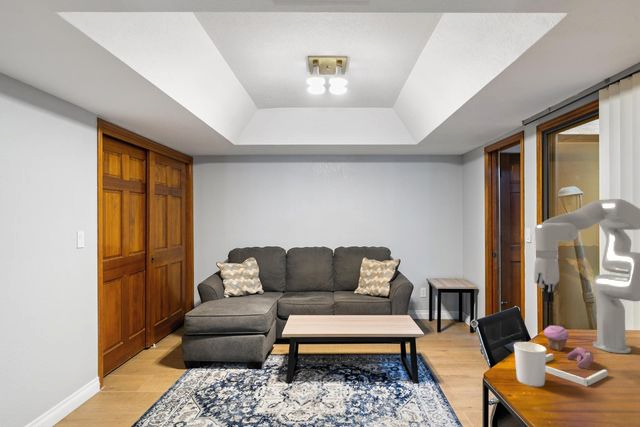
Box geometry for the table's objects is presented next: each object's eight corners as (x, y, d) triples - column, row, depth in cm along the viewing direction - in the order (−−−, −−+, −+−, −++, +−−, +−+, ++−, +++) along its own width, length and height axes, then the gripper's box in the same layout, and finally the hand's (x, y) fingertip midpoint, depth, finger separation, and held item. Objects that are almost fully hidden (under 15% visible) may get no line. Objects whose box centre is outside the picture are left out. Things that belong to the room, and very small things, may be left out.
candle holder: (509, 375, 129) (508, 341, 129) (536, 375, 128) (535, 341, 128) (523, 388, 119) (523, 351, 119) (553, 388, 118) (552, 351, 119)
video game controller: (589, 373, 133) (598, 357, 132) (577, 367, 133) (586, 350, 133) (576, 362, 142) (584, 347, 142) (564, 357, 143) (572, 342, 143)
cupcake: (540, 347, 155) (540, 324, 155) (551, 344, 159) (550, 321, 159) (562, 354, 147) (562, 330, 147) (573, 350, 151) (573, 326, 152)
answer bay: (550, 358, 143) (550, 353, 143) (607, 375, 127) (607, 370, 127) (529, 366, 136) (529, 361, 136) (587, 386, 119) (586, 380, 119)
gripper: (547, 253, 148) (548, 297, 147) (526, 255, 140) (527, 302, 140) (567, 254, 141) (568, 300, 141) (546, 257, 134) (547, 306, 133)
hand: (548, 301), depth 140 cm, fingers closed
